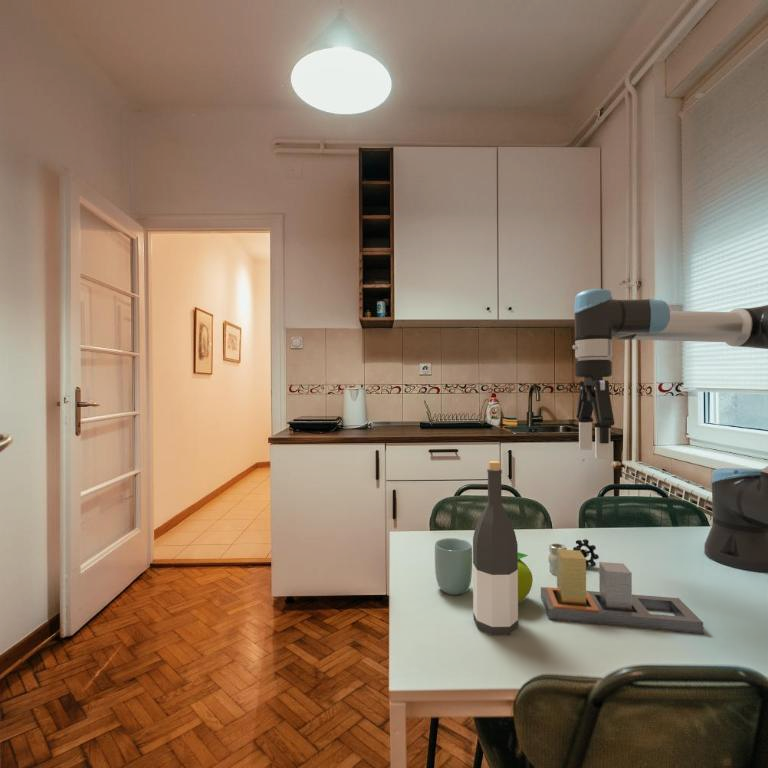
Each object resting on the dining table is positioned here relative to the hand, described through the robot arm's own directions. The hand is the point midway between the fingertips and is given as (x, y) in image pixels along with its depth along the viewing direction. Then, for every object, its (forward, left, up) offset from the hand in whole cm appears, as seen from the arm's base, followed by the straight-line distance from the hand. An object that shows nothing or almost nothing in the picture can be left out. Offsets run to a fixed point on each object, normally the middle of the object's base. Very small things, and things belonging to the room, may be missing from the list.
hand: (593, 454), depth 98 cm
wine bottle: (+23, +22, -29) cm, 43 cm away
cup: (+31, +10, -29) cm, 44 cm away
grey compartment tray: (0, +14, -29) cm, 32 cm away
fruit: (+20, +13, -29) cm, 37 cm away
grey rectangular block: (0, +14, -29) cm, 32 cm away
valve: (+4, -6, -29) cm, 30 cm away
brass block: (+8, +14, -29) cm, 33 cm away
